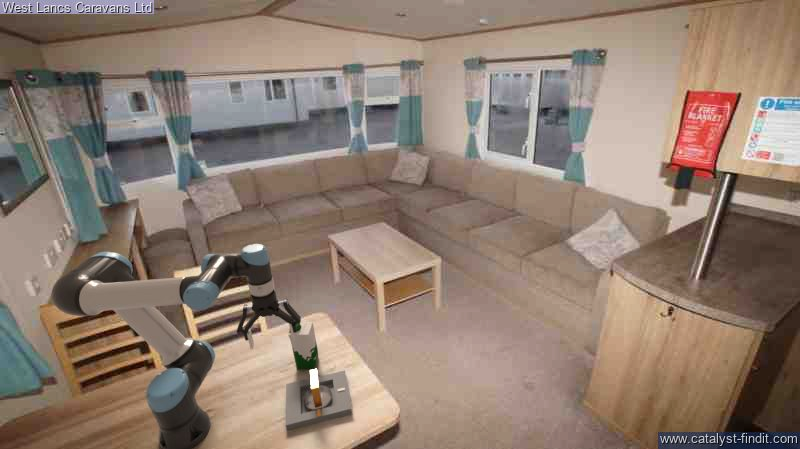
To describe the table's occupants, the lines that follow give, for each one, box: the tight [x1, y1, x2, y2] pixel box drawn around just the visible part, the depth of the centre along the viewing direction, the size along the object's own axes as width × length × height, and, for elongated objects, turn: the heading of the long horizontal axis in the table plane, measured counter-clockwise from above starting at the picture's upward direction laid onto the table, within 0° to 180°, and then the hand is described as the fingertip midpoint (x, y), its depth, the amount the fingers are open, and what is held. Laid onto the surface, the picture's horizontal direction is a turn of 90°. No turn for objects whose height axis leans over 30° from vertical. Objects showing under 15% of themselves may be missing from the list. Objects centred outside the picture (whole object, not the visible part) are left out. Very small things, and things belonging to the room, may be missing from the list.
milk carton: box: [288, 321, 319, 371], centre depth 150 cm, size 9×9×20 cm
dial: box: [304, 368, 332, 411], centre depth 134 cm, size 10×10×10 cm
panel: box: [285, 370, 353, 431], centre depth 136 cm, size 22×18×3 cm
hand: (273, 343), depth 129 cm, fingers open, 13 cm apart
